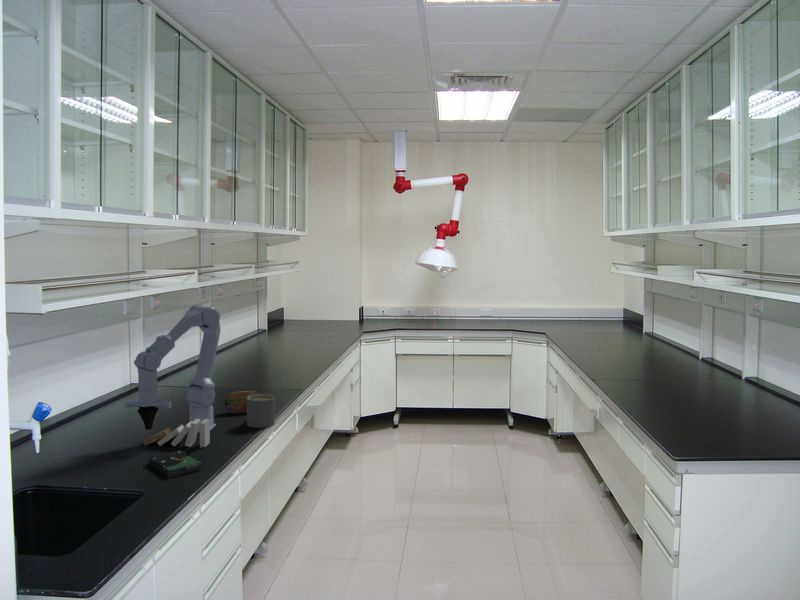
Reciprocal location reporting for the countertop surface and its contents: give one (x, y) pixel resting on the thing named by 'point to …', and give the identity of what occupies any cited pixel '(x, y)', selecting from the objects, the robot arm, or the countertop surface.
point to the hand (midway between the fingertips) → (148, 428)
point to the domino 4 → (204, 432)
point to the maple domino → (157, 436)
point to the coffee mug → (260, 410)
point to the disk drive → (175, 463)
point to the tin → (238, 401)
